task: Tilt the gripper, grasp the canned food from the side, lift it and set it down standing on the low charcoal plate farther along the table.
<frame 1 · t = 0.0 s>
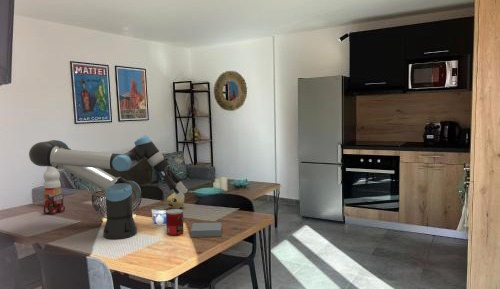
hand: (184, 195, 188), 15 cm above the table, tool tilted 35°, fingers open, 13 cm apart
tan rounded lump: (175, 209, 220), on the table
fruit juice: (53, 205, 232), on the table
canned food: (175, 233, 175), on the table
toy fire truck: (54, 213, 214), on the table
far plate: (206, 232, 175), on the table
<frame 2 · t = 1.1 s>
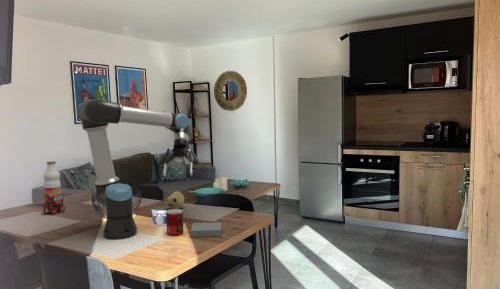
hand: (177, 174, 186), 26 cm above the table, tool tilted 45°, fingers open, 13 cm apart
nothing on the table moved.
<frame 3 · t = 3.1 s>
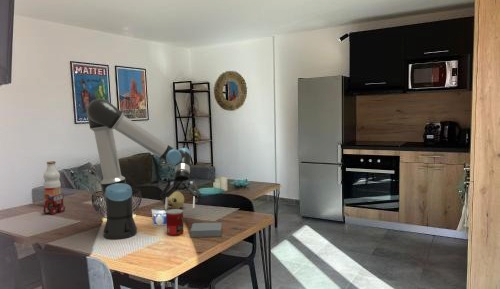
hand: (179, 209, 179), 10 cm above the table, tool tilted 45°, fingers open, 13 cm apart
nothing on the table moved.
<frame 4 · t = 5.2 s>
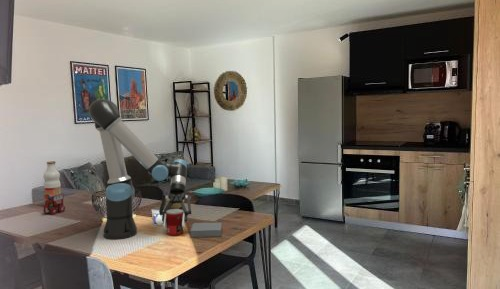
hand: (173, 227, 171), 4 cm above the table, tool tilted 45°, fingers closed on canned food, 8 cm apart
canned food: (175, 233, 175), on the table, touching gripper
everything else where it was.
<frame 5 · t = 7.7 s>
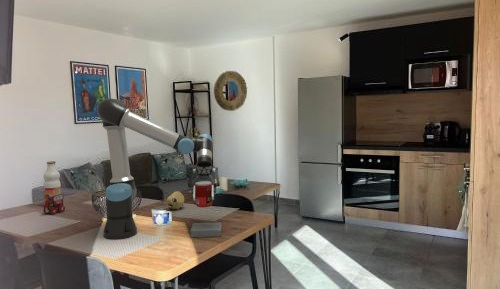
hand: (203, 198, 171), 17 cm above the table, tool tilted 45°, fingers closed on canned food, 8 cm apart
canned food: (204, 205, 174), point 13 cm above the table, touching gripper
everything else where it was.
when the fingers open (9 cm above the table, at t = 10.1 s): canned food drops 1 cm, resting on far plate.
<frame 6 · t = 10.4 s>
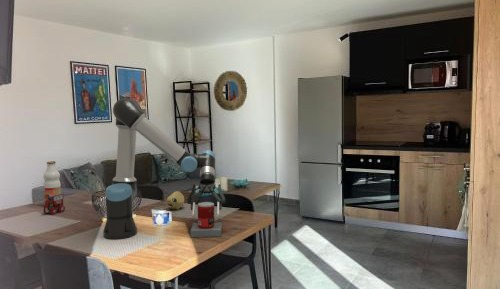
hand: (205, 215, 172), 9 cm above the table, tool tilted 45°, fingers open, 11 cm apart
canned food: (206, 226, 175), point 3 cm above the table, touching far plate
everything else where it was.
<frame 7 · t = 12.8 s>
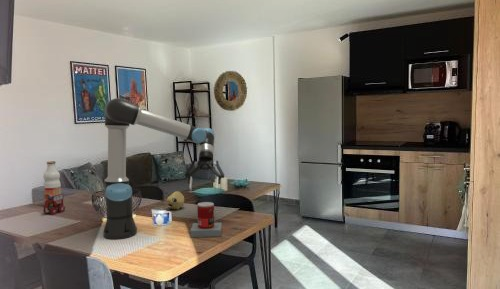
hand: (203, 189, 186), 19 cm above the table, tool tilted 40°, fingers open, 13 cm apart
nothing on the table moved.
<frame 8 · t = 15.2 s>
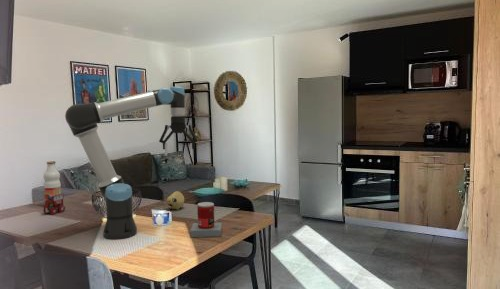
hand: (178, 155, 198), 35 cm above the table, tool pointing down, fingers open, 13 cm apart
nothing on the table moved.
at the end: canned food inside the target area on the far plate (0.2 cm from its centre), point 2.8 cm above the far plate's base; canned food tilted 0°; the gripper is holding nothing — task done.
